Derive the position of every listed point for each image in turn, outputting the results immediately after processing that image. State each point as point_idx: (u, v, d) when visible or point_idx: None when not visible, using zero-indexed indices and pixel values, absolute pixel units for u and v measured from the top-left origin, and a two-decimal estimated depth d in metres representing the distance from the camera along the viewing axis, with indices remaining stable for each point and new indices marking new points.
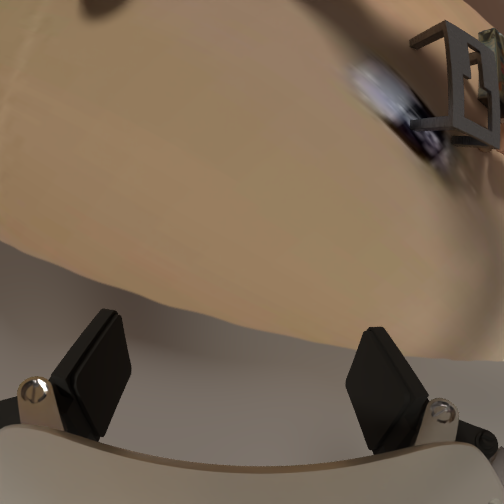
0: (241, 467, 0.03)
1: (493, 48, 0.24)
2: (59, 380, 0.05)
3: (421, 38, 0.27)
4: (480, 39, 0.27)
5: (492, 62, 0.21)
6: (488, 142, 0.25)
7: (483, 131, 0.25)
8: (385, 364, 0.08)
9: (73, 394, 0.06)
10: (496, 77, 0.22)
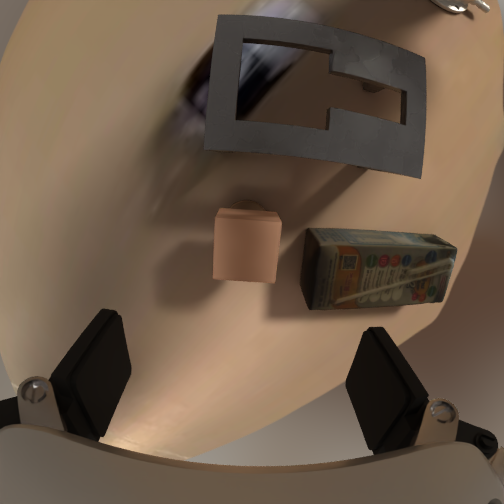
0: (241, 467, 0.03)
1: (419, 244, 0.27)
2: (59, 380, 0.05)
3: None
4: (423, 235, 0.31)
5: (396, 160, 0.19)
6: (209, 107, 0.17)
7: (228, 89, 0.17)
8: (385, 364, 0.08)
9: (73, 394, 0.06)
10: (368, 164, 0.19)
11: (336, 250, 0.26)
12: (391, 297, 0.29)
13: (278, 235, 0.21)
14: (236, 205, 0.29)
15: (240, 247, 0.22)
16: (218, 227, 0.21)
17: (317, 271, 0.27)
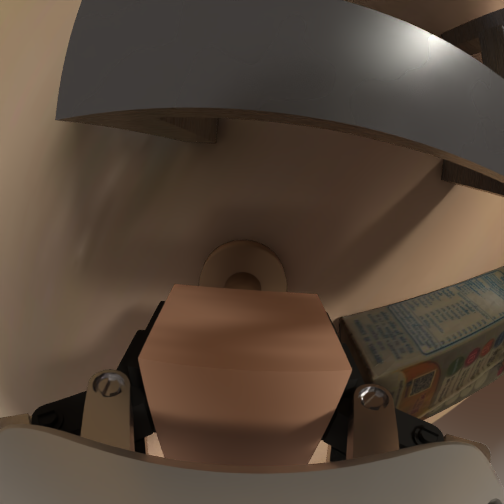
0: (241, 467, 0.03)
1: None
2: (136, 371, 0.07)
3: (477, 21, 0.07)
4: None
5: None
6: None
7: None
8: None
9: None
10: None
11: (401, 377, 0.12)
12: (473, 387, 0.14)
13: (335, 398, 0.06)
14: (222, 253, 0.14)
15: (225, 423, 0.06)
16: (154, 381, 0.06)
17: None
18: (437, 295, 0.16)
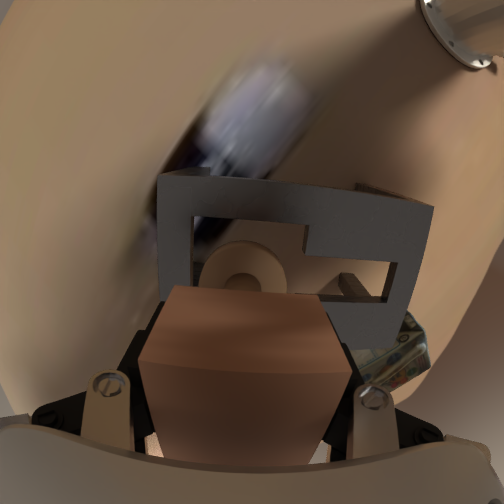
0: (241, 467, 0.03)
1: (375, 354, 0.27)
2: (136, 371, 0.07)
3: (375, 188, 0.22)
4: None
5: (367, 338, 0.18)
6: None
7: (180, 285, 0.17)
8: None
9: None
10: None
11: None
12: None
13: (335, 399, 0.06)
14: (222, 254, 0.14)
15: (224, 424, 0.06)
16: (153, 382, 0.06)
17: None
18: None
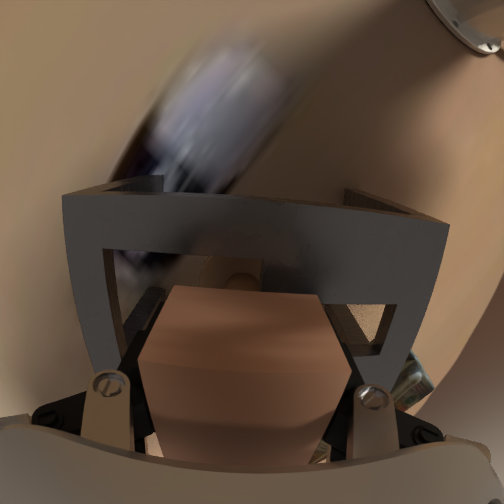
0: (241, 467, 0.03)
1: None
2: (136, 371, 0.07)
3: (369, 196, 0.17)
4: None
5: None
6: (90, 350, 0.12)
7: (104, 333, 0.12)
8: None
9: None
10: None
11: None
12: None
13: (334, 399, 0.06)
14: None
15: (224, 424, 0.06)
16: (153, 382, 0.06)
17: None
18: None
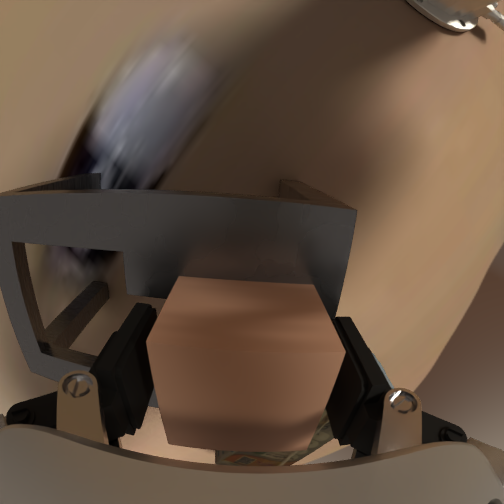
0: (241, 467, 0.03)
1: None
2: (104, 372, 0.06)
3: (293, 185, 0.16)
4: None
5: None
6: (16, 333, 0.11)
7: (22, 317, 0.11)
8: (347, 352, 0.08)
9: (117, 386, 0.06)
10: None
11: (227, 461, 0.22)
12: (319, 441, 0.22)
13: (330, 380, 0.07)
14: None
15: (227, 405, 0.07)
16: (160, 364, 0.07)
17: None
18: None
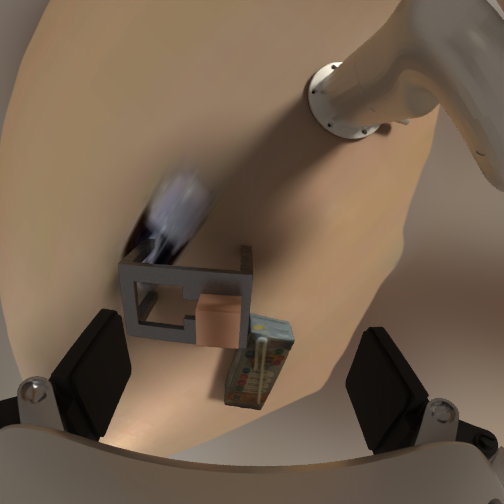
0: (241, 467, 0.03)
1: (240, 356, 0.45)
2: (59, 380, 0.05)
3: (243, 254, 0.40)
4: None
5: None
6: (125, 317, 0.35)
7: (132, 309, 0.35)
8: (385, 364, 0.08)
9: (73, 394, 0.06)
10: None
11: (228, 400, 0.47)
12: (270, 377, 0.46)
13: (238, 321, 0.31)
14: None
15: (213, 327, 0.31)
16: (198, 315, 0.30)
17: (238, 406, 0.48)
18: (232, 362, 0.50)
